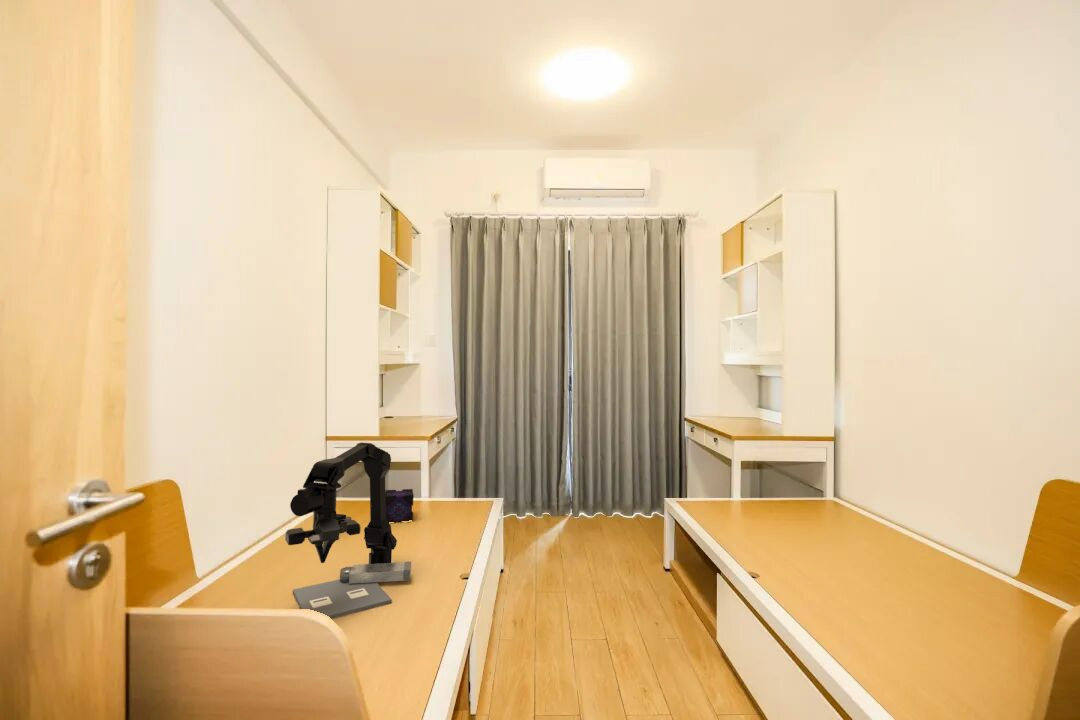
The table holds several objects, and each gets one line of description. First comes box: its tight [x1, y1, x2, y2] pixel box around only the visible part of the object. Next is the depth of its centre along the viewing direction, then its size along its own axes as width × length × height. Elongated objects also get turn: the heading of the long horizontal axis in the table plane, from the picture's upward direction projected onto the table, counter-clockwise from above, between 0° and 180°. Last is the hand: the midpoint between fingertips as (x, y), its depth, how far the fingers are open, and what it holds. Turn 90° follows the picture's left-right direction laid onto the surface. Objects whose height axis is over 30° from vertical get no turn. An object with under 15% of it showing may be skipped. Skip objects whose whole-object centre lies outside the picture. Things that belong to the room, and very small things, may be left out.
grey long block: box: [339, 561, 412, 584], centre depth 151 cm, size 21×7×3 cm, turn 102°
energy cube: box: [385, 488, 414, 523], centre depth 217 cm, size 12×12×12 cm
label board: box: [292, 578, 393, 620], centre depth 139 cm, size 22×22×1 cm
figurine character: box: [336, 513, 353, 521], centre depth 196 cm, size 7×8×15 cm
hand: (322, 562), depth 135 cm, fingers closed
